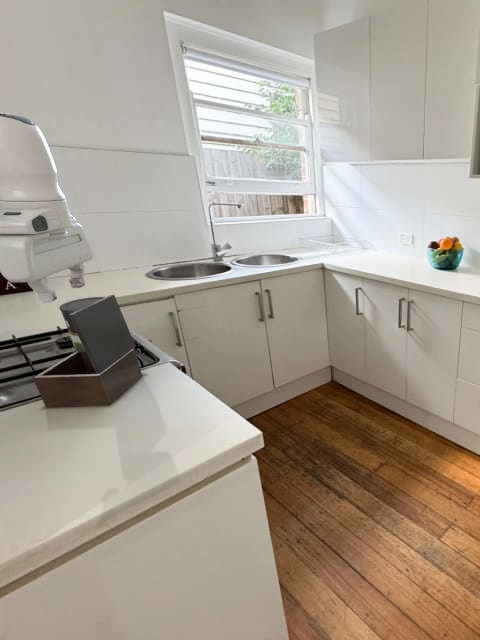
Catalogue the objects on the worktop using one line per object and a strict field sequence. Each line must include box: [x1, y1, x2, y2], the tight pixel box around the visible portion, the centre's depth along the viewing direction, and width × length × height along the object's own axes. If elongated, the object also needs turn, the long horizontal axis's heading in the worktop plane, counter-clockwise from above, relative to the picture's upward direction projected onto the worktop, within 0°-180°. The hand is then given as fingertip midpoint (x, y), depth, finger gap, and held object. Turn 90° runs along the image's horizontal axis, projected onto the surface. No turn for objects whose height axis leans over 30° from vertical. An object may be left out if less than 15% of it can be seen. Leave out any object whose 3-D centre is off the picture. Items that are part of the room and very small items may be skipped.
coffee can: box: [58, 296, 106, 352], centre depth 94 cm, size 10×10×14 cm
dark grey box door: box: [68, 294, 137, 374], centre depth 77 cm, size 12×13×1 cm
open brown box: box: [32, 348, 143, 409], centre depth 80 cm, size 12×13×7 cm
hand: (65, 293), depth 72 cm, fingers open, 8 cm apart
